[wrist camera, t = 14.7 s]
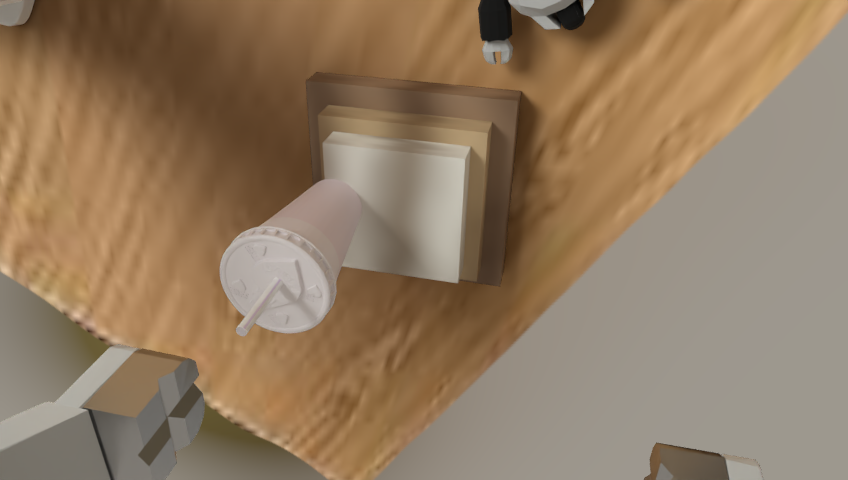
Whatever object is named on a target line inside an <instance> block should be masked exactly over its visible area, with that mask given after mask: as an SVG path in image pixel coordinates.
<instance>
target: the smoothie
mask: <svg viewBox="0 0 848 480" xmlns="http://www.w3.org/2000/svg"><path fill="white" fill-rule="evenodd" d="M361 213H362V204H361V201H360V198H359V196H358V195H357V193H356V192H355V191H354V189H353V188H351V187H350V186H349V185H348V184H346V183H344V182H342V181H339V180H335V179H325V180H321V181H319V182H317V183H316V184H315V185H313V186H312V187H311V188H309V189H308V190H307V191H305V192H304V193H303V194H301V195H300V196H299V197H297V198H296V199H295V200H293V201H292V202H291V203H290V204H288V205H287V206H286V207H284V208H283V209H282V210H280V211H279V212H278V213H276V214H275V215H274V216H272V217H271V218H270V219H268V220H267V221H266V222H264V223H263V224H261V225H260V226H259V227H254V228H251V229H249V230H247V231H244V232H242V233H241V234H239V235H238V236H237V237H236V238H235V239H234V240H233V241H232V243H231V245H230V246H229V247H228V248H227V250H226V251H225V253H224V254H223V256H222V259H221V263H220V279H221V283H222V286H223V289H224V291H225V293H226V295H227V297H228V299H229V300H230V302H231V303H232V304H233V305H234V307H235V308H236V309H237V310H238V311H239V312H240V313H241V314H242V315H244V316H245V318H244V319H243V320H242V321H241V323H240V324H239V325H238V327H237V328H236V332H237V333H238V334H239V335H240V336H246V334H247V333H248V332H249V330H250V329H251V328H252V326H253V325H254V323H255V324H257V325H259V326H261V327H263V328H265V329H268V330H271V331H275V332H280V333H299V332H304V331H307V330H309V329H311V328H313V327H315V326H316V325H318V324H319V323H320V322H321V321H322V320H323V319H324V317H325V316H326V314H327V313H328V312H329V310H330V309H331V307H332V306H333V304H334V301H335V297H336V293H337V290H336V281H337V278H338V275H339V272H340V270H341V267H342V265H343V262H344V259H345V257H346V254H347V251H348V249H349V246H350V243H351V241H352V238H353V235H354V233H355V230H356V227H357V225H358V222H359V219H360V217H361Z"/></svg>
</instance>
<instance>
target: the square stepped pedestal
mask: <svg viewBox="0 0 848 480" xmlns="http://www.w3.org/2000/svg"><path fill="white" fill-rule="evenodd" d="M306 91H307V105H308V119H309V134H310V148H311V162H312V176H313V185H315V184H316V183H317V182H319V181H321V180H325V179H335V180H339V181H342V182H344V183H346V184H348V185H349V186H350V187H351V188H353V189H354V191H355V192H356V193H357V195H358V196H359V198H360V201H361V204H362V213H361V217H360V219H359V222H358V225H357V227H356V230H355V233H354V235H353V238H352V241H351V243H350V246H349V249H348V251H347V254H346V257H345V259H344V262H343V265H342V266H343V267H350V268H357V269H364V270H371V271H377V272H384V273H391V274H398V275H405V276H411V277H418V278H425V279H432V280H438V281H445V282H452V283H458V282H459V280H460V281H467V282H473V283H480V284H487V285H494V286H500V284H501V280H502V275H503V270H504V260H505V250H506V240H507V230H508V220H509V210H510V200H511V190H512V180H513V170H514V160H515V150H516V140H517V130H518V120H519V110H520V100H521V91H514V90H503V89H492V88H482V87H471V86H460V85H449V84H438V83H428V82H417V81H406V80H395V79H384V78H374V77H363V76H352V75H341V74H331V73H320V72H316V73H315V74H314V75H313V76H311V77H310V78H309V79H307V80H306Z"/></svg>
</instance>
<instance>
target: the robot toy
mask: <svg viewBox="0 0 848 480" xmlns="http://www.w3.org/2000/svg"><path fill="white" fill-rule="evenodd" d="M508 1H509V2H508ZM593 3H594V0H583V6H584V11H583V8H582V6H581V4H580V2H579V0H481V2H480V5H479V7H478V12H479V23H480V34H481V39H482V41H485V44H484V47H483V49H482V51H483V55H484V58H485V60H486V61H487V62H488V63H490V64H496V62H497V61H496V58H495V52H497V51H501V64H504V63H506V62H508V61H509V60H510V59H511V58H512V52H513V47H512V45H511V43H510V42H509V40H508V38H509V37H510V36H511V35H512V20H511V5H512V6H513V7H514V8H515V9H516V10H517V11H518V12H519V13H520V14H523V15H526V16H530V17H531V18H533V19H534V20H535V21H536V22H537V23H538V24H540V25H541V26H542V27H543V28H544V29H545V30H546V29H561V24H562V25H563V27H564V28H565V29H567V30H573V29H576V28H578V27H579V26H581V25H582V23H583V22H584V20H585V14H586V13H587V12H588V10H589V9H590V8H591V6H592V5H593ZM510 4H511V5H510Z"/></svg>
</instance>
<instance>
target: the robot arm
mask: <svg viewBox="0 0 848 480" xmlns="http://www.w3.org/2000/svg"><path fill="white" fill-rule="evenodd" d="M34 1H35V0H0V24H2V25H5V26H15V25H21V24H24V23H25V22H26V21H27V20H28V18H29V16H30V14H31V11H32V8H33V5H34ZM198 376H199V373H198V369H197V365H196V361H194V360H192V359H189V358H185V357H180V356H176V355H171V354H166V353H161V352H157V351H152V350H147V349H140V348H135V347H130V346H125V345H121V344H117V345H115V346H112V347H110V348H109V349H108V350H107V351H106V352H105V353H104V354H103V355H102V356H101V357H100V358H99V359H98V360H97V361H96V362H95V363H94V364H93V365H92V366H91V367H90V368H89V369H88V370H87V371H86V372H85V373H84V374H83V375H82V376H81V377H80V378H79V379H78V380H77V381H76V382H75V383H74V384H73V385H72V386H71V387H70V388H69V389H68V390H67V391H66V392H65V393H64V394H63V395H62V396H61V397H60V398H59V399H58V400H57V401H56V402H55V403H51V402H45V403H42V404H40V405H38V406H36V407H33V408H31V409H29V410H26V411H24V412H22V413H19V414H17V415H15V416H13V417H10V418H8V419H6V420H3V421H1V422H0V480H165V479H166V478H167V476H168V475H169V473H170V472H171V471H172V469H173V468H174V466H175V465H176V463H177V459H176V451H178V450H180V449H181V448H183V447H185V446H187V445H189V444H190V443H191V442H192V440H193V439H194V437H195V436H196V434H197V433H198V431H199V428H200V425H201V422H202V419H203V416H204V404H205V403H204V398H203V393H202V392H201V391H200V390H199V389H198V387H197V386H196V385H195V384H194V383H193V382H194V381H195V380H196V378H197V377H198ZM650 470H651V474H650V475H648V476H647V477H645V478H644V480H763V476H762V472H761V468H760V465H759V464H758V462H757V461H756V460H754V459H749V458H742V457H737V456H731V455H725V454H721V455H720V454H718V453H713V452H707V451H702V450H696V449H690V448H684V447H678V446H673V445H667V444H661V443H656V444H655V446H654V447H653V450H652V453H651V457H650Z"/></svg>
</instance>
